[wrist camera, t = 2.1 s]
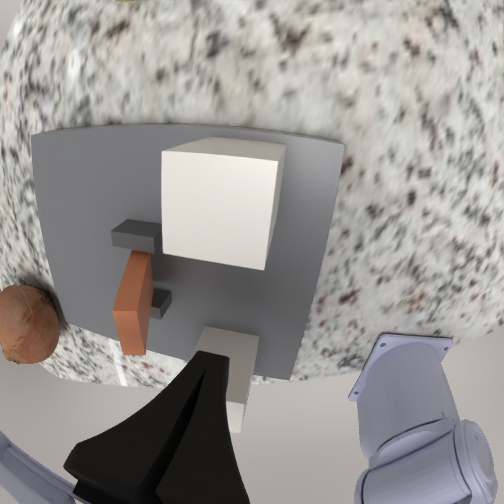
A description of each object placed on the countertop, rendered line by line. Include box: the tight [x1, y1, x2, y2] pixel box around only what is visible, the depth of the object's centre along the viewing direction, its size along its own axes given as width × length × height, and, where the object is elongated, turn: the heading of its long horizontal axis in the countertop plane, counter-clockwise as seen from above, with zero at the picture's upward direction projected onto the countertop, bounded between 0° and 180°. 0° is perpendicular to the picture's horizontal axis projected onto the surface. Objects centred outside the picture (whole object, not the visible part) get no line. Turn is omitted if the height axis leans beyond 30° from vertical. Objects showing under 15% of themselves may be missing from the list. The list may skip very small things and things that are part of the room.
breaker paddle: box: [112, 250, 154, 355], centre depth 15 cm, size 3×1×6 cm, turn 175°
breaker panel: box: [31, 123, 345, 380], centre depth 19 cm, size 18×22×5 cm
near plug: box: [161, 137, 286, 270], centre depth 13 cm, size 4×4×6 cm
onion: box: [0, 284, 60, 364], centre depth 24 cm, size 10×9×10 cm
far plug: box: [190, 326, 259, 433], centre depth 19 cm, size 4×4×6 cm
